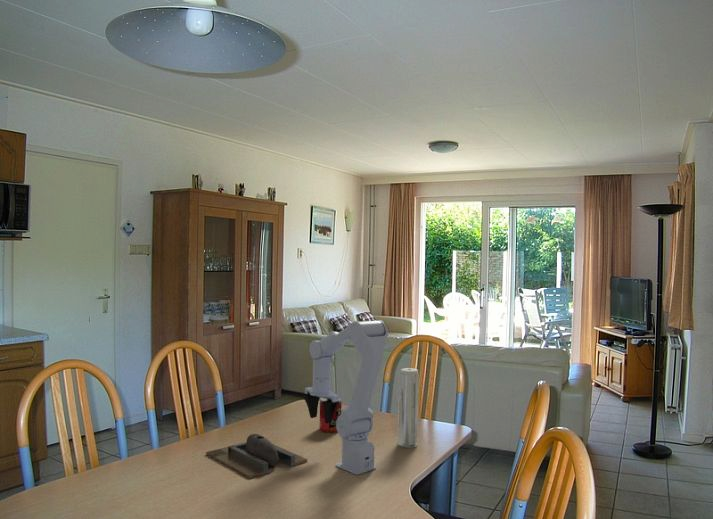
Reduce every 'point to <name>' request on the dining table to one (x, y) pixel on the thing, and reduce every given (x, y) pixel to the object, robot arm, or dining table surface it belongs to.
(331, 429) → the canned food
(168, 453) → the dining table surface
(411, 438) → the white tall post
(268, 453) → the perforated stone tool
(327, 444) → the dining table surface
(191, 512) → the dining table surface
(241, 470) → the brown tray
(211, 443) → the dining table surface
